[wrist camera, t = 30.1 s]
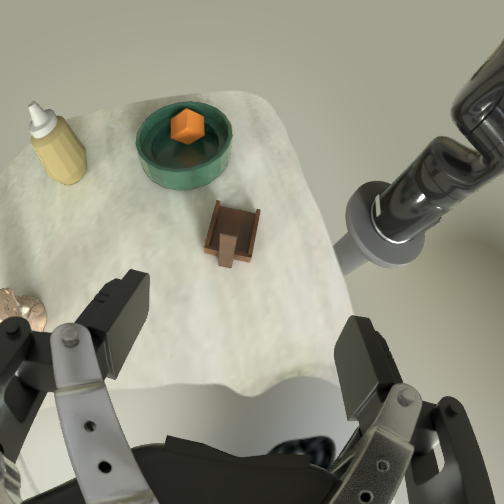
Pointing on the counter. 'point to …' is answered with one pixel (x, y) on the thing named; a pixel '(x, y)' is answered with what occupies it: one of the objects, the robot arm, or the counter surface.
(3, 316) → the figurine
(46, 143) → the squeeze bottle
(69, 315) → the counter surface
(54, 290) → the counter surface
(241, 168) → the counter surface
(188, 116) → the block
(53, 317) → the counter surface
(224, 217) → the scoop
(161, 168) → the green pet bowl
